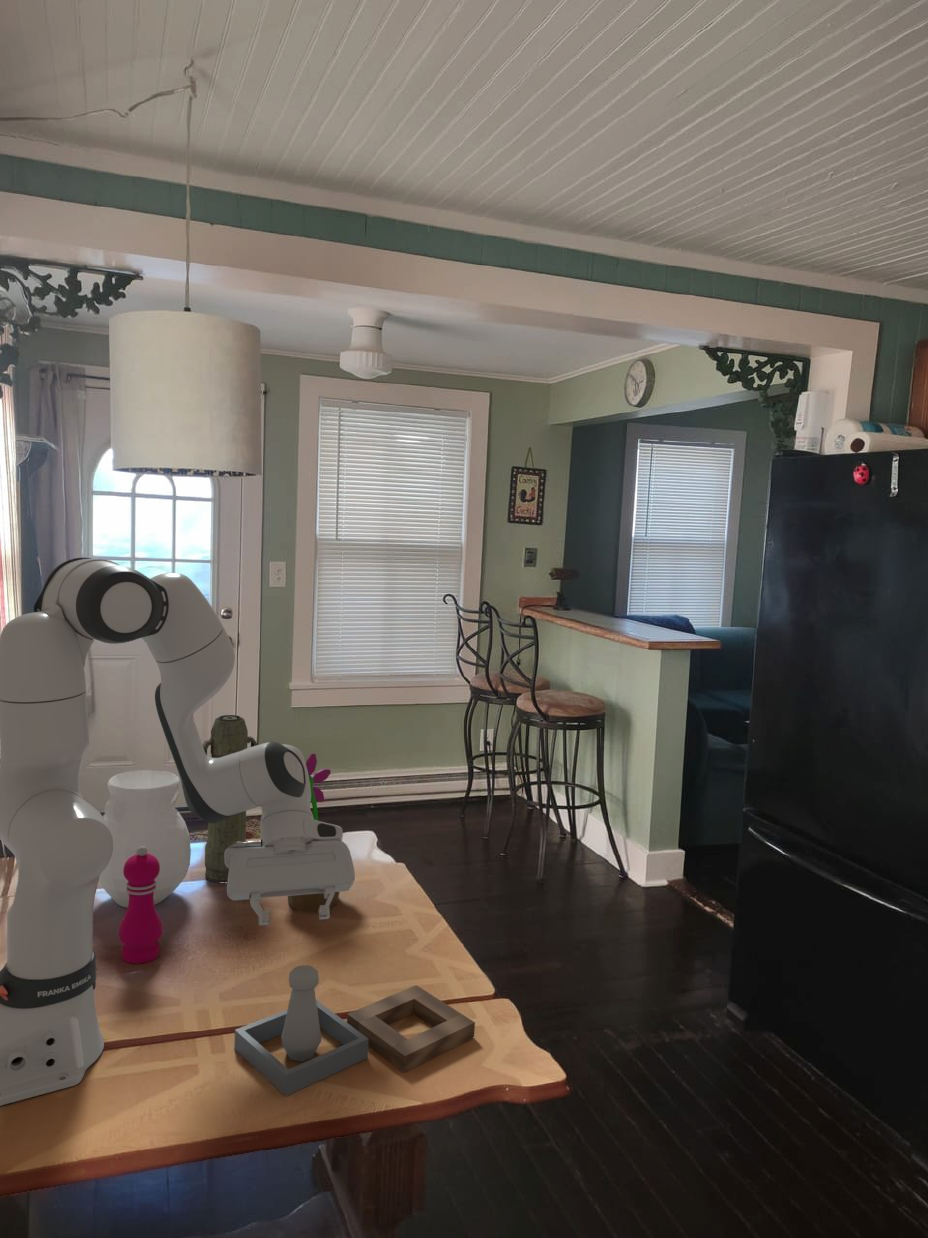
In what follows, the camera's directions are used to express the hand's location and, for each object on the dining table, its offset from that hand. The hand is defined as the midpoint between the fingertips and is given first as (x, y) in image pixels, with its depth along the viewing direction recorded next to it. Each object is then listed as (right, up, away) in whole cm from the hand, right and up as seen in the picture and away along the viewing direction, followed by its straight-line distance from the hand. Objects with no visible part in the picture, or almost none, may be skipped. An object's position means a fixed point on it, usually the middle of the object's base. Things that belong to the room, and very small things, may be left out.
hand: (294, 921), depth 140 cm
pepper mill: (-31, -12, +18) cm, 37 cm away
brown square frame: (+18, -17, -2) cm, 25 cm away
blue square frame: (+3, -17, -8) cm, 19 cm away
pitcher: (-38, -9, +40) cm, 57 cm away
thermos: (-25, -9, +54) cm, 60 cm away
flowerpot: (-4, -11, +44) cm, 45 cm away
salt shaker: (+3, -17, -8) cm, 19 cm away
